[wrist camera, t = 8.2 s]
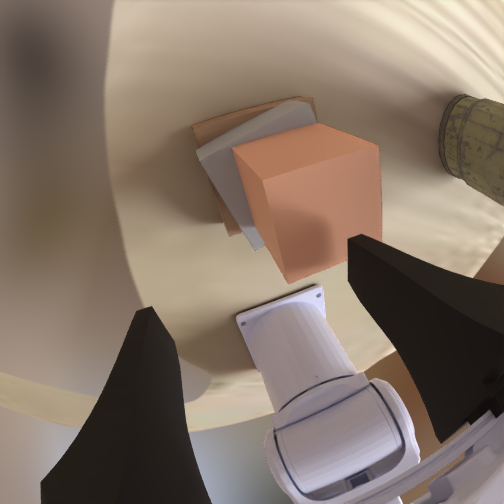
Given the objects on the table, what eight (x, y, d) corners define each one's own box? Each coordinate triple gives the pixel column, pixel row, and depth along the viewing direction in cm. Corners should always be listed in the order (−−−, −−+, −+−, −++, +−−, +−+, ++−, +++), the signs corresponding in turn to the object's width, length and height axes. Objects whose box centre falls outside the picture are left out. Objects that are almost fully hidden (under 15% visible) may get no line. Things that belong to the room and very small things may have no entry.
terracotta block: (329, 199, 16) (382, 245, 12) (255, 226, 16) (288, 284, 12) (317, 122, 13) (378, 145, 9) (231, 147, 13) (262, 180, 9)
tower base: (313, 188, 21) (329, 201, 19) (222, 219, 21) (229, 236, 19) (296, 95, 17) (312, 98, 15) (191, 124, 17) (193, 129, 14)
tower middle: (325, 184, 18) (345, 199, 16) (244, 230, 19) (254, 251, 17) (290, 99, 15) (309, 103, 13) (195, 150, 15) (199, 161, 13)
